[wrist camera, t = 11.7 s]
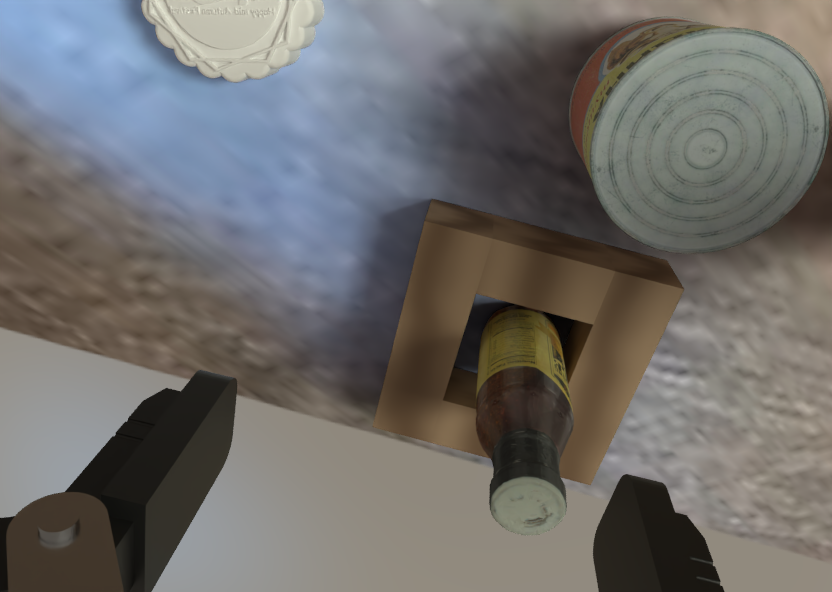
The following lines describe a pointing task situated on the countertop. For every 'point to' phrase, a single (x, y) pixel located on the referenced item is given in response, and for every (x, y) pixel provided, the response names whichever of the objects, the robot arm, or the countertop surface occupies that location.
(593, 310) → the square wooden frame
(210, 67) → the cream scalloped thick disc
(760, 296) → the countertop surface
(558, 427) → the sauce bottle
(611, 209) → the canned food
